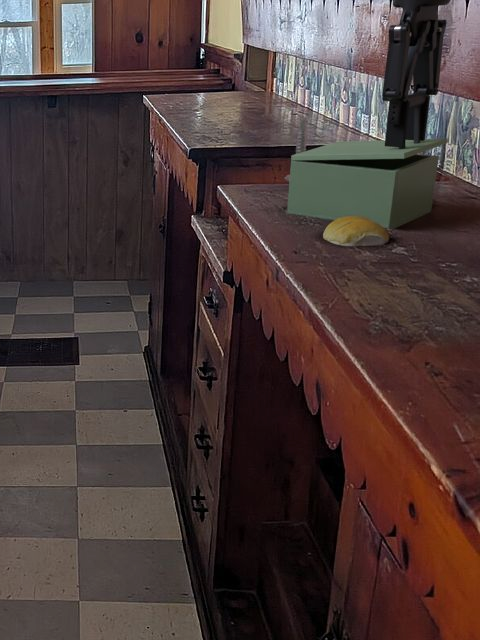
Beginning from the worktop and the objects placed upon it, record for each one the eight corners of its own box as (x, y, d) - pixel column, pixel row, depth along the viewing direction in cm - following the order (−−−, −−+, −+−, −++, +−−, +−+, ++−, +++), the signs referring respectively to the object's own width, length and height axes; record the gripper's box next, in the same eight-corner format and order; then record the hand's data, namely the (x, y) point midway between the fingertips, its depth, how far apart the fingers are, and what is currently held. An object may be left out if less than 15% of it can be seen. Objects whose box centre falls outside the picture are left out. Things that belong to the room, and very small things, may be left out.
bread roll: (367, 235, 128) (370, 208, 126) (395, 251, 119) (399, 223, 118) (312, 238, 128) (314, 212, 126) (336, 255, 119) (339, 227, 118)
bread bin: (431, 212, 138) (439, 155, 134) (388, 231, 129) (396, 171, 125) (332, 198, 149) (337, 146, 146) (286, 216, 140) (290, 160, 137)
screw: (292, 185, 161) (316, 188, 157) (278, 190, 158) (302, 193, 154) (298, 113, 156) (323, 115, 152) (283, 117, 153) (308, 118, 149)
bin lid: (447, 143, 133) (449, 87, 130) (404, 158, 124) (405, 99, 121) (337, 146, 146) (337, 95, 143) (291, 160, 137) (290, 106, 134)
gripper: (426, -24, 130) (408, 133, 139) (366, -20, 118) (350, 150, 127) (479, -28, 125) (456, 135, 134) (421, -24, 113) (401, 154, 122)
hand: (404, 142), depth 130 cm, fingers closed on bin lid, 6 cm apart
